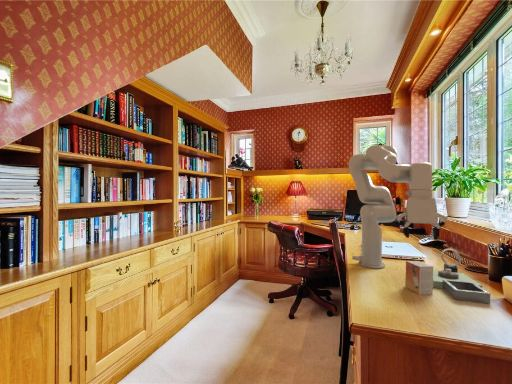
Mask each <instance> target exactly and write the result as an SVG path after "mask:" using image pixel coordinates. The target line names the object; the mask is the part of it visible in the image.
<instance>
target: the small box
mask: <svg viewBox="0 0 512 384" xmlns="http://www.w3.org/2000/svg"><path fill="white" fill-rule="evenodd" d="M433 271H434V266H432V265H429V264H426V263H425V262H421V261H420V260H408V261H407V260H406V261H405V285H404V286H405V288H407V289H409V290H411V291H412V292H414V293H416V294H417V295H420V296H421V295H422V296H424V295H433V289H434V287H433Z"/></svg>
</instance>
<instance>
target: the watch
mask: <svg viewBox="0 0 512 384" xmlns="http://www.w3.org/2000/svg"><path fill="white" fill-rule="evenodd" d="M447 251H452V254H453V255H454V257H455V258H456V259H457V262H456V263H454V264H452V263H447V260H445V259H444V255H443V254H444V252H447ZM440 258H441V261H443V271H445V269H446V268H447V269H451V272H455V273H459V271H458V266H459V265H460V264H461V263H462V257H461V256H460V253H458V251H457V249H453V248H445V249H443V250H441V252H440Z"/></svg>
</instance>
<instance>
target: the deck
mask: <svg viewBox="0 0 512 384" xmlns="http://www.w3.org/2000/svg"><path fill="white" fill-rule="evenodd" d="M443 279H444V280H455V281H466V282H473V283H475V284H476V285H478V286H479V287H481V288H482V289H483V285H482V284H480V283H479V282H478V281H476V280H474V279H472V277H471V276H470V277H469V276H468V275H466V273H463V272H458V273H455V272H451V269H447V268H446V269H445V271H444V270H433V288H438V289H443Z"/></svg>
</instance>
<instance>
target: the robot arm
mask: <svg viewBox="0 0 512 384" xmlns="http://www.w3.org/2000/svg"><path fill="white" fill-rule="evenodd" d="M397 157H398V153H397V149H396V147H394V146H393V145H383V144H382V145H381V144H380V145H379V144H374V145H371V146H369V147H368V148H367V149H366V150H365V153H360V154H358V153H357V154H354V155H352V156H350V158H349V162H348V169H349V170H348V171H349V173H350V176H351V178H352V180H353V182H354V186H355V188H356V192H357V197H358V199H359V201H360V202H361V203H363V206H361V208H360V210H359V215H360V221H361V254H360V255H352V260H355V261H358V262H357V263H358V265H359V266H361V267H364V268H369V269H384V268H385V267H386V263H384V262H383V261H382V260H383V258H382V257H383V255H382V254H383V252H382V251H383V231H382V228H381V226H380V225H379V223H380V224H381V223H393V222H394V221H395V220H397V221H398V223H399V224H400V225H401V226H402V227H403V235H404V236H405V237H406V238H408V239H409V238H410V228H409V226H410V225H411V224H424V225H425V224H428V225H432V226H433V228H432V238H433V239H435V240H438V239H439V237H440V229H441V228H442V227H443V226H444V225H445V224H446V222H447V220H448V217H447V216H446V215H443V214H441V213H439V212H438V205H437V202H436V201H437V200H436V198H435V197H433V165H432V163H430V162H413V163H411V164H397ZM364 170H365V171H364ZM377 170H378V174H379V175H380V176H381V177H382V178H383V179H384V180H386V181H387V182H390V183H409V190H407V191H405V195H406V196H409V197H407V201H406V207H405V211H404V212H402V213H400V214H398V215H397V211H396V207H395V203H394V201H393V197H392V195H391V192H390V190H389V189H388V188H387V187H386V186H382V185H374V184H373V181H372V178H371V176H370V175H369V174H368V173H367V172H366V171H377ZM404 217H405V222H404V221H403V219H402V218H404ZM438 219H441V220H440V221H439V222H438Z"/></svg>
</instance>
